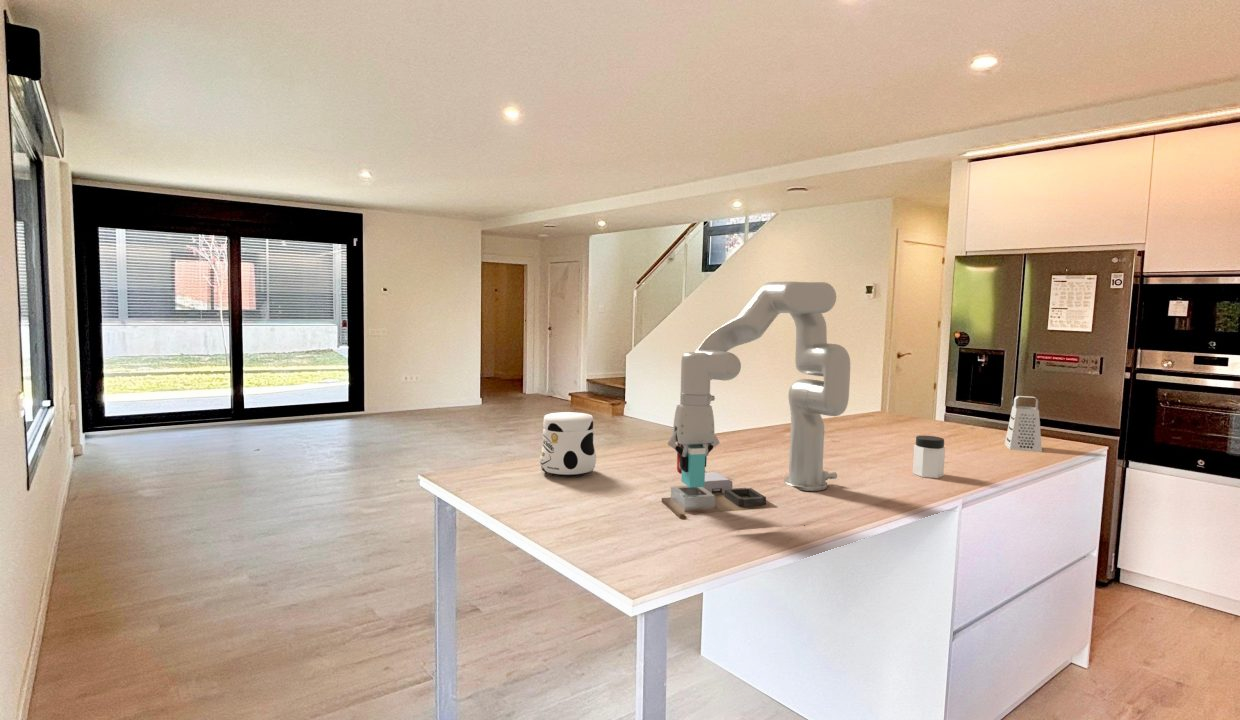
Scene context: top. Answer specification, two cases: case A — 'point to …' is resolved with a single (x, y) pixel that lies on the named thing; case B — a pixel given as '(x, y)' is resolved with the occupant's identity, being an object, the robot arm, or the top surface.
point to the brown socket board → (727, 502)
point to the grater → (1024, 428)
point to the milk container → (568, 444)
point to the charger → (716, 482)
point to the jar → (929, 457)
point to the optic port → (692, 498)
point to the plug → (695, 467)
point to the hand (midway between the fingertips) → (693, 469)
